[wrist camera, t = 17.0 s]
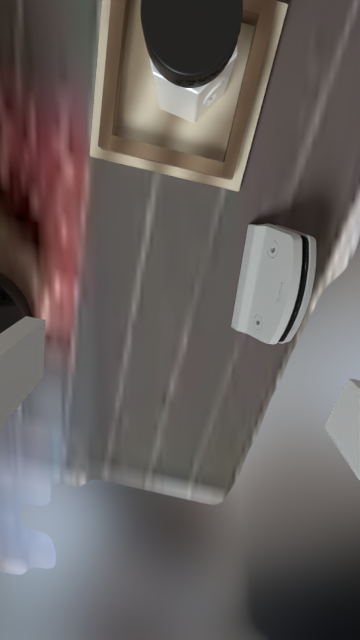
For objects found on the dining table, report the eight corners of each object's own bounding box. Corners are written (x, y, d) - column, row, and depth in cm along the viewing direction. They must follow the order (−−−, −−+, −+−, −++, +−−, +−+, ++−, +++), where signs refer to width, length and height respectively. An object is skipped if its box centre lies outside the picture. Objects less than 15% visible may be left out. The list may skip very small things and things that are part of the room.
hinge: (248, 221, 39) (298, 227, 31) (276, 223, 41) (330, 229, 32) (230, 328, 46) (267, 358, 37) (255, 327, 47) (296, 355, 38)
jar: (181, 139, 35) (181, 105, 24) (137, 77, 33) (114, 7, 22) (239, 82, 33) (269, 15, 22) (196, 12, 31) (204, -103, 19)
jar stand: (92, 156, 37) (84, 152, 34) (108, -41, 30) (101, -67, 27) (237, 191, 38) (242, 189, 35) (285, 10, 31) (295, -10, 28)
